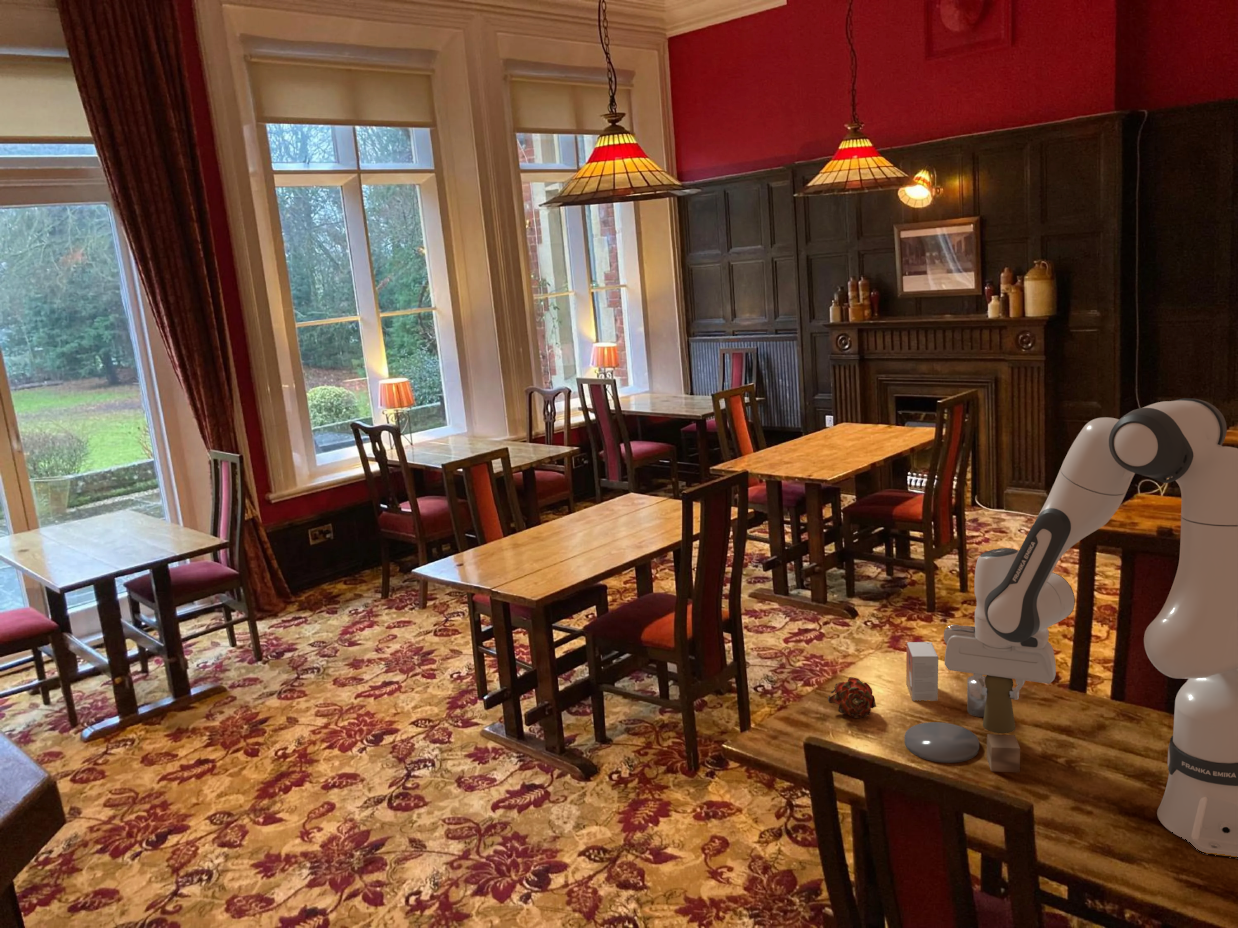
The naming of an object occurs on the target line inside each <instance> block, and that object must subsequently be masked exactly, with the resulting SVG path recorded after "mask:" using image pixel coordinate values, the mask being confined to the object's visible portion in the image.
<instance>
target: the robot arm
mask: <svg viewBox="0 0 1238 928" xmlns="http://www.w3.org/2000/svg"><path fill="white" fill-rule="evenodd" d="M1227 430H1228V429H1227V422H1226V419H1225V417H1224V415H1223V413H1222V412H1221V410H1219V409H1218V408H1217V407H1216V406H1215V405H1213V404H1212V403H1210V402H1208V401H1205V400H1201V399H1198V398H1189V397H1188V398H1180V399H1175V400H1171V401H1170V400H1169V401H1168V400H1167V401H1165V400H1164V401H1160V402H1159V401H1158V402H1155V403H1151V404H1148V405H1146V406H1144V407H1141V408H1137V409H1133V410H1131V411H1129V412H1128V413H1126V414H1124V415H1122V417H1121V418H1120V419H1118V418H1114V417H1106V416H1105V417H1097V418H1094V419H1092V420H1090V421H1088V422H1087V423H1086V424H1085V425H1084V426H1083V427H1082V429H1081V430H1080V432H1079V433H1078V434H1077V435H1076V438H1075V439H1074V440H1073V442H1072V443H1071V446H1070V448H1069V449H1068V451H1067V454H1066V456H1065V458H1064V459H1063V461H1062V464H1061V467H1060V469H1059V471H1058V473H1057V476H1056V478H1055V481H1054V483H1053V484H1052V487H1051V489H1050V492H1049V494H1048V496H1047V498H1046V500H1045V502H1044V504H1043V506H1042V508H1041V509H1040V512H1039V513H1038V516H1037V517H1036V519H1035V521H1034V523H1033V524H1032V525H1031V528H1030V530H1029V531H1028V532H1027V534H1026V537H1025V539H1024V541H1023V543H1022V545H1021V546H1020V548H1019V550H1018V549H1016V548H1012V547H1011V548H1010V547H1009V548H1008V547H1003V548H996V549H995V548H993V549H990V550H987V551H985V552H983V553H981V554H980V555H978V558H977V561H976V564H975V570H974V582H973V583H974V584H973V585H974V589H973V590H974V596H975V600H976V606H975V609H974V626H973V625H959V624H951V625H949V626H947V627H946V628H945V629H944V630H943V640H944V643H945V644H946V648H945V654H944V666H945V668H946V669H947V670H948V671H954V672H960V673H969V674H973V675H972V676H973V678H974V680H975V681H976V683H977V685H978V686H979V693H980V694H981V695H987V693H988V689H987V688H986V685H985V683H984V682H983V680H982V678H981V677H982V676H987V675H989V676H996V677H1004V678H1011V679H1012V680H1015V684H1016V687H1013V688H1012V690H1011V691H1010V699H1011V700H1019V696H1020V690H1021V689H1023V686H1024V685H1025V682H1026V681H1027V682H1035V683H1040V684H1042V683H1043V684H1047V685H1049V684H1051V683H1052V682H1053V681H1054V680H1055V678H1056V675H1057V674H1056V673H1057V671H1056V670H1057V669H1056V668H1057V667H1056V665H1057V664H1056V656H1055V652H1054V651H1055V650H1054V648H1053V645H1052V644H1051V643H1050V642H1049V637H1050V632H1049V627H1052V626H1054V625H1055V624H1057V623H1059V622H1061V621H1063V620H1064V619H1066V618H1068V617H1069V616H1070V615H1071V614H1073V610H1074V609H1075V605H1076V604H1075V603H1076V599H1075V594H1074V591H1073V588H1072V587H1071V584H1070V583H1069V582H1068V581H1067V580H1066V579H1065V578H1064V577H1063V576H1062V575H1060V574H1057V573H1055V572H1053V571H1054V570H1055V568H1056V566H1057V565H1058V562H1059V561H1060V559H1061V558H1062V557H1063V556H1064V554H1065V553H1066V552H1067V551H1068V550H1069V549H1070V548H1072V547H1073V546H1075V545H1076V544H1077V543H1079V542H1080V541H1081V540H1083V539H1084V538H1086V537H1087V536H1089V535H1091V534H1092V533H1094V532H1096V531H1097V530H1099V529H1101V528H1102V527H1104V526H1105V525H1107V523H1108V522H1109V521H1110V520H1111V519H1112V518H1113V516H1114V515H1115V514H1116V512H1117V511H1118V510H1119V507H1120V506H1121V504H1122V503H1123V500H1124V499H1125V497H1126V494H1127V492H1128V489H1129V487H1130V485H1131V482H1132V481H1133V478H1134V476H1135V475H1136V474H1137V475H1140V476H1144V477H1148V478H1151V479H1153V480H1154V481H1155V480H1156V481H1158V482H1160V483H1164V484H1170V483H1172V482H1174V481H1175V482H1176V483H1177V484H1178V486H1179V489H1180V493H1181V496H1180V497H1181V509H1180V510H1181V512H1180V541H1179V543H1180V545H1179V560H1178V566H1177V570H1176V573H1175V577H1174V579H1173V583H1172V586H1171V589H1170V591H1169V592H1168V593H1169V594H1167V598H1166V600H1165V603H1164V604H1163V606H1162V608H1161V610H1160V611H1159V613H1158V614H1157V615H1156V617H1155V618H1154V619H1153V620H1152V621H1151V622H1150V623H1149V625H1148V626H1147V627H1146V629H1145V631H1144V635H1143V636H1144V637H1143V646H1144V650H1145V653H1146V655H1147V658H1148V659H1149V661H1150V662H1151V664H1152V665H1153V667H1155V669H1157V671H1158V672H1159V673H1161V674H1163V675H1164V676H1166V677H1168V678H1172V679H1179V680H1180V679H1182V680H1183V679H1187V680H1186V682H1185V683H1184V684H1183V685H1182V686H1181V687H1180V689H1179V690H1178V691H1177V693H1176V697H1175V700H1174V714H1173V729H1172V730H1173V733H1172V735H1171V736H1170V739H1169V744H1168V749H1167V768H1168V769H1167V770H1168V777H1167V783H1166V787H1165V791H1164V794H1163V797H1162V798H1161V802H1160V804H1159V806H1158V807H1157V811H1156V814H1157V819H1158V820H1159V821H1160V823H1161V824H1162V826H1163V827H1165V829H1167V830H1168V831H1169V832H1171V833H1172V832H1173V833H1172V834H1174V835H1176V836H1178V837H1180V838H1181V837H1182V838H1181V839H1183V840H1185V839H1186V840H1187V841H1186V840H1185V841H1186V842H1187V843H1189V842H1190V843H1191V844H1192V845H1193V846H1194V847H1195V848H1196V849H1195V848H1194V847H1193V846H1192V845H1191V844H1190V843H1189V844H1190V845H1191V846H1192V847H1193V848H1194V849H1195V850H1197V849H1198V850H1200V851H1202V852H1206V853H1217V854H1225V855H1231V856H1237V857H1238V448H1237V447H1233V446H1226V445H1225V446H1223V444H1224V443H1225V439H1226V436H1227ZM1198 850H1197V851H1198Z"/></svg>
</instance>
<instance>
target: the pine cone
mask: <svg viewBox="0 0 1238 928" xmlns="http://www.w3.org/2000/svg"><path fill="white" fill-rule="evenodd" d="M833 693H834V694H833ZM830 694H833V695H831V696H830V695H828V696H827V701H828V703H829V704H835V705H838V709H837V711H838V712H839V713H840V714H842V715H843V716H844V715H848V716H849V717H851V718H854V719H861V718H862V717H863V718H865V717H866V718H867V717H868V716H869V715H871V711H872V709H874V708H876V707H877V704H876V699H875V696H874V695H873V689H872V687H871V686H870V685H869V683H867V682H863V681H862V680H860V679H859V678H857V677H853V676H849V677H848V679H847V681H840V682H838V683H835V685H834V689H833V690H832V691H831V692H830Z"/></svg>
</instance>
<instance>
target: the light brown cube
mask: <svg viewBox="0 0 1238 928" xmlns="http://www.w3.org/2000/svg"><path fill="white" fill-rule="evenodd" d="M986 760H987V763H988V765H989V768H990V771H991V772H999V773H1000V772H1001V773H1002V772H1003V773H1004V772H1005V773H1020V771H1021V769H1020V765H1021V763H1020V762H1021V747H1020V745H1019V742H1018V739H1017V737H1016V734H998V733H992V734H991V733H987V734H986Z"/></svg>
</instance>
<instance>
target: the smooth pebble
mask: <svg viewBox="0 0 1238 928" xmlns="http://www.w3.org/2000/svg"><path fill="white" fill-rule="evenodd" d="M904 745H905V748H906V749H907V750H908V751H909V752H910V753H911V754H913V755H914V756H917V757H918V758H921V759H924V760H927V761H931V762H935V763H944V764H945V763H946V764H953V763H962V762H965V761H968V760H971V759H973V758H974V757H976V756H977V755H978V753H979V751H980V741H979V738H978V736H977V735H976V734H975V733H974V732H972V731H971V730H970V729H967V728H965V727H963V726H960V725H957V724H954V723H948V722H939V721H937V722H936V721H933V722H932V721H931V722H921V723H918V724H915V725H912V726H911V727H909V728H908V729H907V730H906V731H905V734H904Z"/></svg>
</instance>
